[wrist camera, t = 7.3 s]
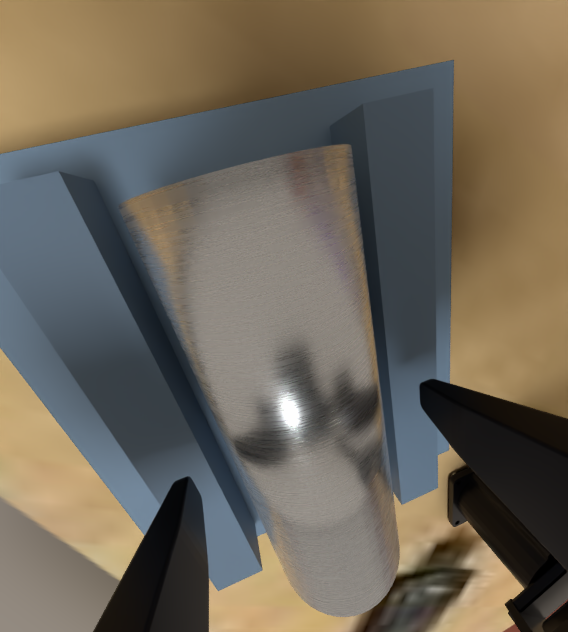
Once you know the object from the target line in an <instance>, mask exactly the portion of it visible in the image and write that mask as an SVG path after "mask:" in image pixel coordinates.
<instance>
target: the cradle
mask: <svg viewBox="0 0 568 632" xmlns="http://www.w3.org/2000/svg"><path fill="white" fill-rule="evenodd" d="M453 85H454V60H451V61H446V62H441V63H436V64H431V65H426V66H422V67H417V68H412V69H407V70H402V71H398V72H393V73H388V74H383V75H378V76H373V77H369V78H364V79H359V80H354V81H349V82H345V83H340V84H335V85H330V86H325V87H321V88H316V89H311V90H306V91H301V92H296V93H292V94H287V95H282V96H277V97H272V98H268V99H263V100H258V101H253V102H248V103H243V104H239V105H234V106H229V107H224V108H219V109H215V110H210V111H205V112H200V113H195V114H190V115H186V116H181V117H176V118H171V119H166V120H162V121H157V122H152V123H147V124H142V125H138V126H133V127H128V128H123V129H118V130H113V131H109V132H104V133H99V134H94V135H89V136H85V137H80V138H75V139H70V140H65V141H60V142H56V143H51V144H46V145H41V146H36V147H32V148H27V149H22V150H17V151H12V152H8V153H3V154H0V348H1V349H2V351H3V352H4V353H5V354H6V356H7V357H8V358H9V360H10V361H11V362H12V364H13V365H14V366H15V367H16V369H17V370H18V371H19V373H20V374H21V375H22V377H23V378H24V379H25V380H26V382H27V383H28V384H29V386H30V387H31V388H32V390H33V391H34V392H35V393H36V395H37V396H38V397H39V399H40V400H41V401H42V403H43V404H44V405H45V407H46V408H47V409H48V410H49V412H50V413H51V414H52V416H53V417H54V418H55V420H56V421H57V422H58V423H59V425H60V426H61V427H62V429H63V430H64V431H65V433H66V434H67V435H68V436H69V438H70V439H71V440H72V442H73V443H74V444H75V446H76V447H77V448H78V449H79V451H80V452H81V453H82V455H83V456H84V457H85V459H86V460H87V461H88V462H89V464H90V465H91V466H92V468H93V469H94V470H95V472H96V473H97V474H98V475H99V477H100V478H101V479H102V481H103V482H104V483H105V485H106V486H107V487H108V488H109V490H110V491H111V492H112V494H113V495H114V496H115V498H116V499H117V500H118V501H119V503H120V504H121V505H122V507H123V508H124V509H125V511H126V512H127V513H128V514H129V516H130V517H131V518H132V520H133V521H134V522H135V524H136V525H137V526H138V527H139V529H140V530H141V531H142V533H143V534H144V535H145V534H146V532H147V530H148V529H149V527H150V525H151V523H152V521H153V519H154V517H155V516H156V514H157V512H158V510H159V508H160V506H161V504H162V503H163V501H164V499H165V497H166V495H167V493H168V491H169V489H170V488H171V486H172V484H173V483H174V482H175V481H176V480H179V479H181V478H184V477H186V476H189V477H191V478H192V480H193V482H194V484H195V485H196V487H197V489H198V491H199V493H200V494H201V497H202V502H203V512H204V522H205V533H206V543H207V554H208V566H209V578H210V580H211V581H212V583H213V584H214V586H215V587H216V589H217V590H218V591H219V590H222V589H224V588H226V587H228V586H230V585H232V584H234V583H236V582H239V581H241V580H243V579H245V578H247V577H249V576H251V575H253V574H256V573H258V572H260V571H262V564H261V558H260V552H259V545H258V539H257V536H259V535H261V534H264V533H266V530H265V528H264V526H263V524H262V521H261V519H260V517H259V515H258V513H257V511H256V508H255V506H254V504H253V502H252V500H251V497H250V495H249V493H248V491H247V489H246V486H245V484H244V482H243V480H242V478H241V475H240V473H239V471H238V469H237V467H236V465H235V462H234V460H233V458H232V456H231V454H230V451H229V449H228V447H227V445H226V443H225V440H224V438H223V436H222V434H221V432H220V430H219V427H218V425H217V423H216V421H215V419H214V416H213V414H212V412H211V410H210V408H209V405H208V403H207V401H206V399H205V397H204V394H203V392H202V390H201V388H200V386H199V384H198V381H197V379H196V377H195V375H194V373H193V370H192V368H191V366H190V364H189V362H188V359H187V357H186V355H185V353H184V351H183V348H182V346H181V344H180V342H179V340H178V338H177V335H176V333H175V331H174V329H173V327H172V324H171V322H170V320H169V318H168V316H167V313H166V311H165V309H164V307H163V305H162V303H161V300H160V298H159V296H158V294H157V292H156V289H155V287H154V285H153V283H152V281H151V278H150V276H149V274H148V272H147V270H146V267H145V265H144V263H143V261H142V259H141V257H140V254H139V252H138V250H137V248H136V246H135V243H134V241H133V239H132V237H131V235H130V232H129V230H128V228H127V226H126V224H125V221H124V219H123V217H122V215H121V213H120V211H119V208H118V205H120V204H121V203H123V202H125V201H127V200H129V199H131V198H134V197H136V196H139V195H141V194H144V193H147V192H149V191H152V190H155V189H158V188H161V187H164V186H167V185H171V184H174V183H177V182H180V181H183V180H187V179H190V178H194V177H197V176H201V175H204V174H208V173H211V172H215V171H219V170H222V169H226V168H230V167H234V166H237V165H241V164H245V163H249V162H253V161H257V160H262V159H266V158H270V157H274V156H279V155H283V154H288V153H292V152H297V151H302V150H307V149H313V148H318V147H324V146H331V145H341V144H349V145H351V148H352V156H353V164H354V173H355V181H356V189H357V198H358V206H359V214H360V223H361V231H362V239H363V248H364V256H365V264H366V273H367V281H368V289H369V297H370V306H371V314H372V322H373V331H374V339H375V347H376V356H377V364H378V372H379V381H380V389H381V397H382V406H383V414H384V422H385V431H386V439H387V447H388V456H389V464H390V472H391V480H392V489H393V492H394V494H395V495H396V497H397V498H398V500H399V501H400V503H401V504H405V503H407V502H409V501H411V500H413V499H415V498H417V497H419V496H422V495H424V494H426V493H428V492H430V491H432V490H434V489H436V488H438V455H439V454H441V453H444V452H446V451H448V450H449V443H448V441H447V440H446V439H445V438H444V436H443V435H442V434H441V432H440V431H439V430H438V429H437V427H436V426H435V425H434V423H433V422H432V421H431V420H430V418H429V417H428V416H427V414H426V413H425V412H424V411H423V409H422V407H421V404H420V392H419V385H420V383H421V382H424V381H426V380H429V379H437V380H440V381H443V382H447V383H450V318H451V240H452V162H453Z"/></svg>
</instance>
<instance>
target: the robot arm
mask: <svg viewBox="0 0 568 632" xmlns="http://www.w3.org/2000/svg"><path fill="white" fill-rule="evenodd" d="M419 392H420V404H421V407H422V409H423V411H424V412H425V413H426V414H427V416H428V417H429V418H430V420H431V421H432V422H433V423H434V425H435V426H436V427H437V429H438V430H439V431H440V432H441V434H442V435H443V436H444V438H445V439H446V440H447V441H448V443H449V444H450V445H451V447H452V448H453V449H454V450H455V451H456V453H457V454H458V455H459V456H460V457H461V458H462V459H463V460H464V462H465V463H466V464H467V465H468V466H469V468H466V469H464V470H462V471H460V472H458V473H456V474H454V475H452V476H451V478H450V480H449V522H450V523H451V525H452V526H453V527H456V526H458V525H460V524H462V523H464V522H466V521H468V522H469V523H470V525H471V526H472V527H473V528H474V529H475V531H476V532H477V533H478V534H479V535H480V536H481V538H482V539H483V540H484V541H485V542H486V544H487V545H488V546H489V547H490V548H491V549H492V551H493V552H494V553H495V554H496V555H497V557H498V558H499V559H500V560H501V561H502V563H503V564H504V565H505V566H506V567H507V568H508V570H509V571H510V572H511V573H512V574H513V576H514V577H515V578H516V579H517V580H518V582H519V583H520V584H521V585H522V586H523V587H524V590H523V591H522V592H521V593H520V594H519V595H518V596H516V597H515V598H514V599H510V600H509V601H508V602H507V603H505V606H506V607H507V609H508V610H509V612H508V614H509V616H510V617H511V618H512V620H513V621H514V622H515V624H516V625H517V627H518V629H519V630H520V631H521V632H568V601H567V602H566V603H565V604H564V605H563V606H561V607H560V608H559V609H558V610H557V611H556V612H554V613H553V614H552V615H551V616H550V617H549V618H547V619H545V618H546V617H548V616H549V615H550V614H551V613H552V612H553V611H555V610H556V609H557V608H558V607H559V606H560V605H561V604H563V603H564V602H565V601H566V600H567V599H568V419H567V418H563V417H560V416H557V415H553V414H550V413H547V412H543V411H540V410H537V409H533V408H530V407H527V406H523V405H520V404H517V403H513V402H510V401H507V400H503V399H500V398H497V397H493V396H490V395H487V394H483V393H480V392H477V391H473V390H470V389H467V388H463V387H460V386H457V385H453V384H450V383H447V382H443V381H440V380H437V379H429V380H426V381H424V382H421V383H420V385H419ZM93 632H209V566H208V554H207V543H206V533H205V522H204V512H203V502H202V497H201V494H200V493H199V491H198V489H197V487H196V485H195V484H194V482H193V480H192V478H191V477H189V476H186V477H184V478H181V479H179V480H176V481H175V482H174V483H173V484H172V486H171V488H170V489H169V491H168V493H167V495H166V497H165V499H164V501H163V503H162V504H161V506H160V508H159V510H158V512H157V514H156V516H155V517H154V519H153V521H152V523H151V525H150V527H149V529H148V530H147V532H146V534H145V536H144V538H143V540H142V542H141V543H140V545H139V547H138V549H137V551H136V553H135V555H134V557H133V558H132V560H131V562H130V564H129V566H128V568H127V570H126V571H125V573H124V575H123V577H122V579H121V581H120V583H119V585H118V586H117V588H116V590H115V592H114V594H113V596H112V597H111V600H110V601H109V603H108V605H107V607H106V609H105V610H104V612H103V615H102V616H101V618H100V620H99V622H98V624H97V625H96V627H95V629H94V631H93Z"/></svg>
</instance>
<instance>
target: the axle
mask: <svg viewBox="0 0 568 632" xmlns="http://www.w3.org/2000/svg"><path fill="white" fill-rule="evenodd" d="M118 208H119V211H120V213H121V215H122V217H123V219H124V221H125V224H126V226H127V228H128V230H129V232H130V235H131V237H132V239H133V241H134V243H135V246H136V248H137V250H138V252H139V254H140V257H141V259H142V261H143V263H144V265H145V267H146V270H147V272H148V274H149V276H150V278H151V281H152V283H153V285H154V287H155V289H156V292H157V294H158V296H159V298H160V300H161V303H162V305H163V307H164V309H165V311H166V313H167V316H168V318H169V320H170V322H171V324H172V327H173V329H174V331H175V333H176V335H177V338H178V340H179V342H180V344H181V346H182V348H183V351H184V353H185V355H186V357H187V359H188V362H189V364H190V366H191V368H192V370H193V373H194V375H195V377H196V379H197V381H198V384H199V386H200V388H201V390H202V392H203V394H204V397H205V399H206V401H207V403H208V405H209V408H210V410H211V412H212V414H213V416H214V419H215V421H216V423H217V425H218V427H219V430H220V432H221V434H222V436H223V438H224V440H225V443H226V445H227V447H228V449H229V451H230V454H231V456H232V458H233V460H234V462H235V465H236V467H237V469H238V471H239V473H240V475H241V478H242V480H243V482H244V484H245V486H246V489H247V491H248V493H249V495H250V497H251V500H252V502H253V504H254V506H255V508H256V511H257V513H258V515H259V517H260V519H261V521H262V524H263V526H264V528H265V530H266V532H267V535H268V537H269V539H270V541H271V543H272V546H273V548H274V550H275V552H276V554H277V557H278V559H279V561H280V563H281V565H282V567H283V570H284V572H285V574H286V576H287V578H288V580H289V582H290V584H291V586H292V587H293V588H294V590H295V591H296V593H297V594H298V595H299V596H300V597H301V598H302V599H303V600H304V601H305V602H306V603H307V604H308V605H310V606H311V607H313V608H314V609H316V610H318V611H320V612H322V613H325V614H327V615H332V616H336V617H349V616H356V615H358V614H361V613H364V612H366V611H368V610H370V609H371V608H373V607H374V606H375V605H377V604H378V603H379V602H380V601H381V600H382V599H383V598H384V597H385V595H386V594H387V593H388V591H389V589H390V588H391V586H392V584H393V581H394V579H395V577H396V573H397V569H398V564H399V539H398V530H397V522H396V514H395V505H394V497H393V489H392V480H391V472H390V464H389V456H388V447H387V439H386V431H385V422H384V414H383V406H382V397H381V389H380V381H379V372H378V364H377V356H376V347H375V339H374V331H373V322H372V314H371V306H370V297H369V289H368V281H367V273H366V264H365V256H364V248H363V239H362V231H361V223H360V214H359V206H358V198H357V189H356V181H355V173H354V164H353V156H352V148H351V145H349V144H341V145H331V146H324V147H318V148H313V149H307V150H302V151H297V152H292V153H288V154H283V155H279V156H274V157H270V158H266V159H262V160H257V161H253V162H249V163H245V164H241V165H237V166H234V167H230V168H226V169H222V170H219V171H215V172H211V173H208V174H204V175H201V176H197V177H194V178H190V179H187V180H183V181H180V182H177V183H174V184H171V185H167V186H164V187H161V188H158V189H155V190H152V191H149V192H147V193H144V194H141V195H139V196H136V197H134V198H131V199H129V200H127V201H125V202H123V203H121V204H120V205H118Z"/></svg>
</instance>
